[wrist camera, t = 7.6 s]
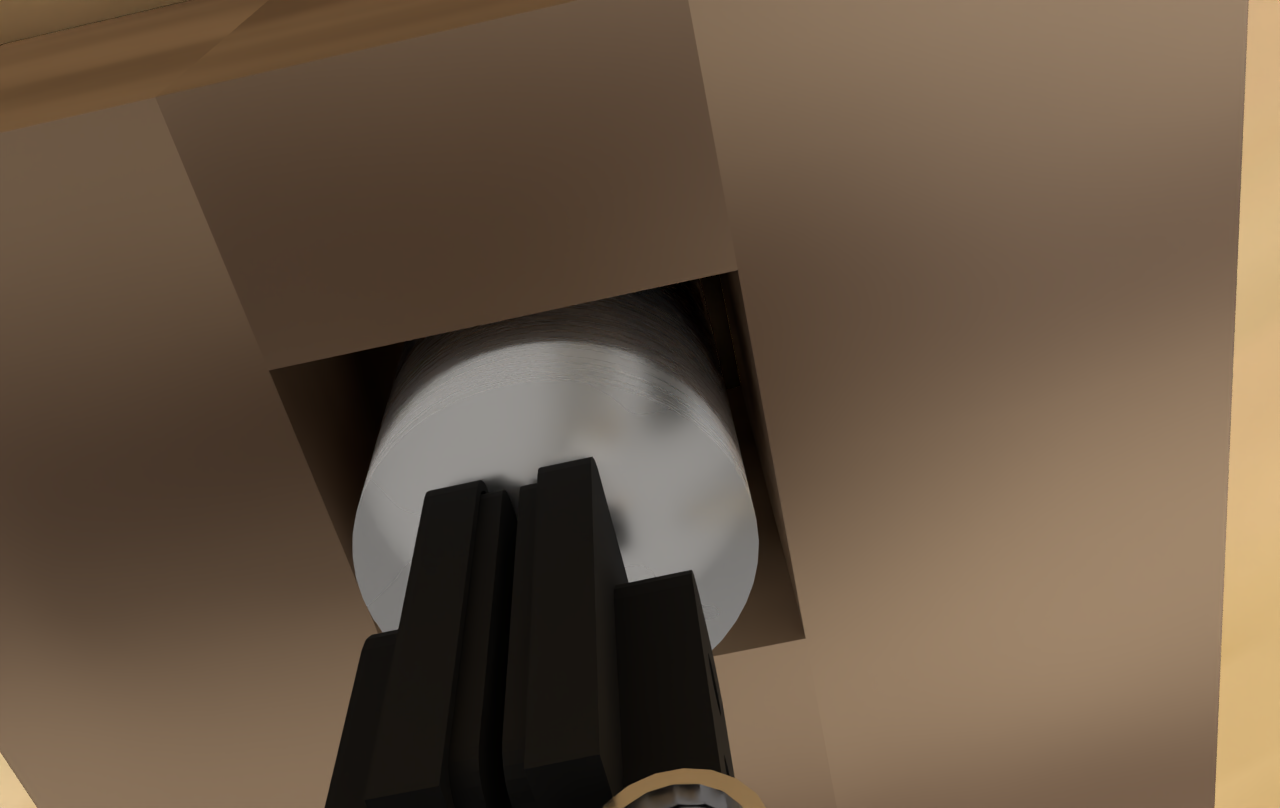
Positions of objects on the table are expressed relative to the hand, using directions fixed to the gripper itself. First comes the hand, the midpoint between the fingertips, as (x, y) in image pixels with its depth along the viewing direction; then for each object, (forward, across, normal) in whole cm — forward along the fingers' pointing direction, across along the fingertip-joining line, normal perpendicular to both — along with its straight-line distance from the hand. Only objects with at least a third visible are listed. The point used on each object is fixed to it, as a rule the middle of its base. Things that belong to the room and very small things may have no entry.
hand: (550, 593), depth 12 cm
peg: (+6, 0, 0) cm, 6 cm away
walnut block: (+7, 0, +6) cm, 9 cm away
